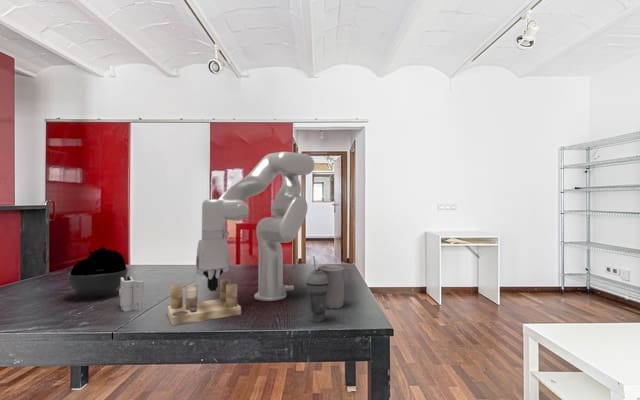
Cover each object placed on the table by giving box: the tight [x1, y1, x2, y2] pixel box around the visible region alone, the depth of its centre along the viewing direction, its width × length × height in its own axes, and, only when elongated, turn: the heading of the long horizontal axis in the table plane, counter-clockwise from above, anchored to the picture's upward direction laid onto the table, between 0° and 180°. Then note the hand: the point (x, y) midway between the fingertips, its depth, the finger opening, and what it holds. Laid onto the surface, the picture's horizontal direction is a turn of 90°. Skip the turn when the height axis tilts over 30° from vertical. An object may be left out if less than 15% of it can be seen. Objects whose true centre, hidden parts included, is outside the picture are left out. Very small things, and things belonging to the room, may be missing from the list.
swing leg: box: [185, 284, 199, 312], centre depth 107 cm, size 7×4×7 cm, turn 30°
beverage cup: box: [305, 255, 329, 323], centre depth 105 cm, size 7×7×20 cm
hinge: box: [118, 275, 145, 312], centre depth 116 cm, size 14×5×10 cm, turn 47°
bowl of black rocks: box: [67, 246, 128, 298], centre depth 132 cm, size 20×20×19 cm
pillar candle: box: [317, 263, 345, 310], centre depth 120 cm, size 10×10×15 cm
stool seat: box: [167, 278, 242, 326], centre depth 110 cm, size 21×13×10 cm, turn 120°
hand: (212, 290), depth 111 cm, fingers closed
